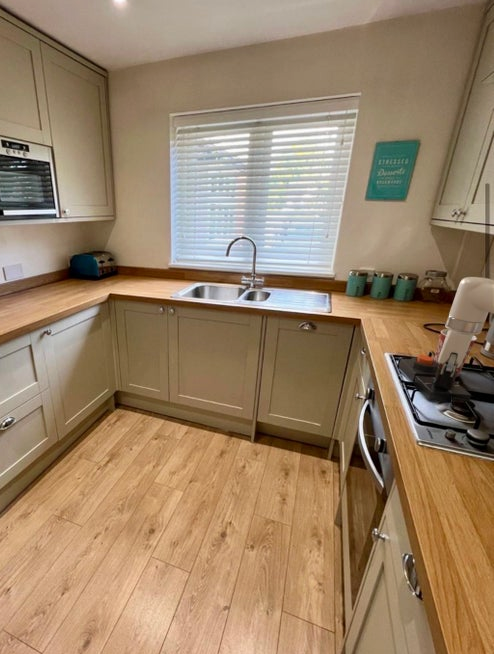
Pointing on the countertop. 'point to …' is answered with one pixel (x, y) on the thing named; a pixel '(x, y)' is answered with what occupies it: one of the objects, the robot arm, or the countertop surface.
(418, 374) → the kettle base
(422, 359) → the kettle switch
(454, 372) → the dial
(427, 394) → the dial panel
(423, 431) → the countertop surface
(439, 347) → the mug
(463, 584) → the countertop surface
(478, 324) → the robot arm
